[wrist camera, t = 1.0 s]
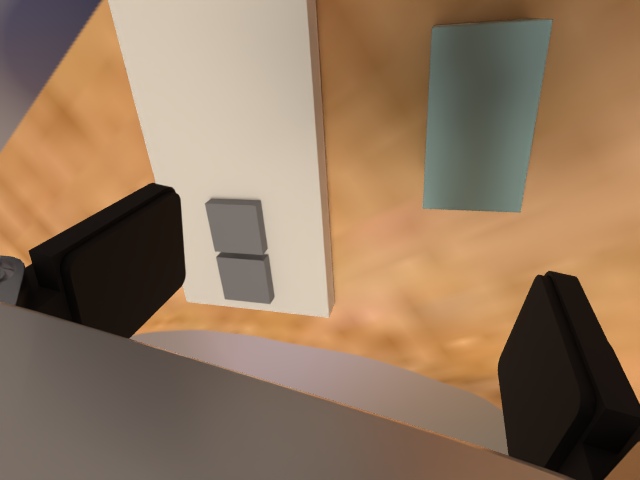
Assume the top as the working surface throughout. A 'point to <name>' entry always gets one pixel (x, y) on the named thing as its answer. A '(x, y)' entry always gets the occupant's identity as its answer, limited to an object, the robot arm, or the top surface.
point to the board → (237, 132)
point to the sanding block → (482, 112)
